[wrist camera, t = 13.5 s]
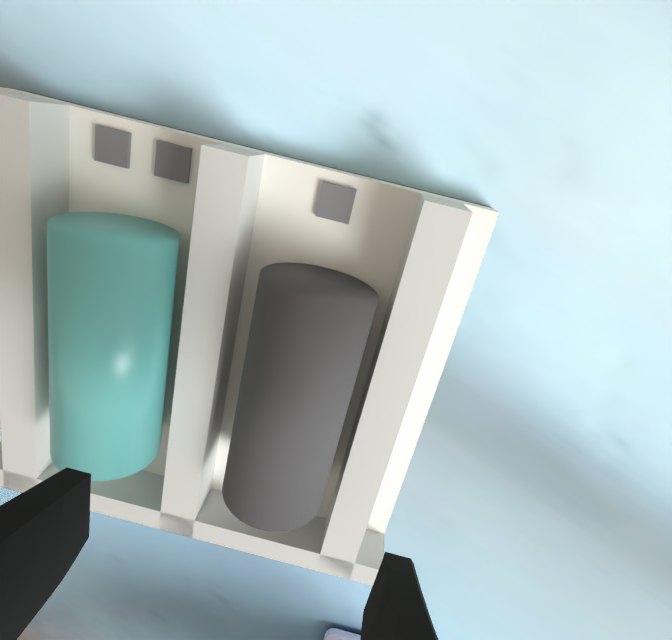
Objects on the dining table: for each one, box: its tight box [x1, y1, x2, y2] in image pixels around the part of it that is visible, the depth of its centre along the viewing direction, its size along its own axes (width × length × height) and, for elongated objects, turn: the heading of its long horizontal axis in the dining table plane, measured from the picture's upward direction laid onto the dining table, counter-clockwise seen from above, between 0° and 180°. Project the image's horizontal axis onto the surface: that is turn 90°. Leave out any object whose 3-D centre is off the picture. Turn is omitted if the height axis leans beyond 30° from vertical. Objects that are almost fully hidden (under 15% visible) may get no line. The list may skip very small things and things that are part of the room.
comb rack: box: [0, 87, 499, 586], centre depth 19 cm, size 16×18×3 cm
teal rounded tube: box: [47, 212, 180, 481], centre depth 17 cm, size 9×4×4 cm, turn 167°
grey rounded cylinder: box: [222, 262, 379, 532], centre depth 17 cm, size 9×4×4 cm, turn 167°
